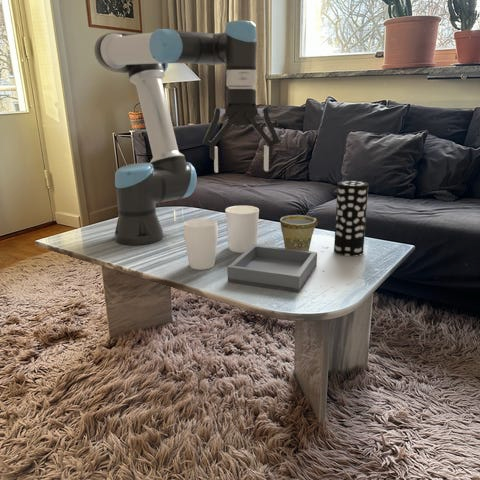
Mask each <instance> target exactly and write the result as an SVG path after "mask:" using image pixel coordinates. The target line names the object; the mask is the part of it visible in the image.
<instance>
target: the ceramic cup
mask: <svg viewBox="0 0 480 480" xmlns="http://www.w3.org/2000/svg"><path fill="white" fill-rule="evenodd" d="M279 220H280V221H279V222H280V229H281V233H282V238H283V242H284V243H283V244H284V248H286V249H294V250H303V251H310V246H311V243H312V238H313V235H314V231H315V228H316V227H317V225H318V219H317V217H312V216H309V215H302V214H292V215H285V216H281V218H280V219H279Z"/></svg>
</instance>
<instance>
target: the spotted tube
mask: <svg viewBox="0 0 480 480" xmlns="http://www.w3.org/2000/svg"><path fill="white" fill-rule="evenodd" d="M368 196H369V182H365V181H361V180H341V181H338V182H337V191H336V204H335V205H336V207H335V208H336V210H335V223H334V224H335V225H334V226H335V227H334V245H333V252H334V253H335V254H337V255H339V256H344V257H345V256H346V257H357V256H356V255H358V256H361V255H363V254H364V247H365V234H366V220H367V210H368V209H367V208H368ZM362 253H363V254H362ZM360 254H361V255H360Z"/></svg>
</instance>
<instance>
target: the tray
mask: <svg viewBox="0 0 480 480" xmlns="http://www.w3.org/2000/svg"><path fill="white" fill-rule="evenodd" d="M317 262H318V251H311V250H309V251H303V250H294V249H286V248H285V247H284V248H283V247H275V246H269V245H268V246H267V245H258V244H257V245H252V246H251V247H250V248H249V249H248V250H246V251H245V252H244V253H241V255H239V256H238V257H237V258H236V259H235V260H234V261H232V262H231V263H230V264H229V265H228V266H227V283H233V284H240V285H246V286H252V287H260V288H267V289H273V290H279V291H285V292H291V293H300V292H301V291H302V289H303V287H304V285H306V283H307V281H308V280H309V278H310V277H311V275H312V274H313V272H314V271H315V270H316V268H317V264H318V263H317Z"/></svg>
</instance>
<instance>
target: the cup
mask: <svg viewBox="0 0 480 480" xmlns="http://www.w3.org/2000/svg"><path fill="white" fill-rule="evenodd" d="M218 236H219V230H218V221H217V220H216V219H212V218H204V217H202V218H201V217H200V218H191V219H188V220H185V221H184V222H183V238H184V243H185V248H186V254H187V258H188V263H189V264H188V265H189V267H190V268H191V269H193V270H198V271H201V270H202V271H203V270H208V269H211V268H213V267H214V266H215V263H216V255H217V248H218V247H217V245H218Z"/></svg>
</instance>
